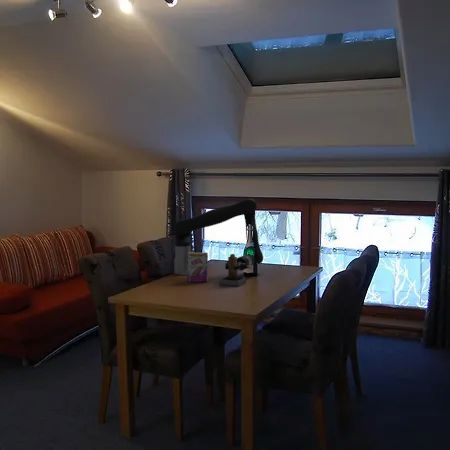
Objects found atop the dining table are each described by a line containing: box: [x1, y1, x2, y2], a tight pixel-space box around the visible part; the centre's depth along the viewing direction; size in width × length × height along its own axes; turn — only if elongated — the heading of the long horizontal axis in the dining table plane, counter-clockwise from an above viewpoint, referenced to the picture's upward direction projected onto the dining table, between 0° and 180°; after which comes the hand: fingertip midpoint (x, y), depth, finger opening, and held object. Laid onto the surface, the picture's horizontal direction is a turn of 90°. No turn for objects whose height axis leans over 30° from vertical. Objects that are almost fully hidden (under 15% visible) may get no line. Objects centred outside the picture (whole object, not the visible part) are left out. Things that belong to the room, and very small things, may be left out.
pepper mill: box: [227, 253, 238, 281], centre depth 286 cm, size 5×5×15 cm
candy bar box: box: [187, 251, 209, 283], centre depth 293 cm, size 11×5×16 cm, turn 84°
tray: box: [219, 275, 247, 287], centre depth 286 cm, size 11×10×3 cm
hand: (230, 268), depth 283 cm, fingers closed on pepper mill, 4 cm apart
